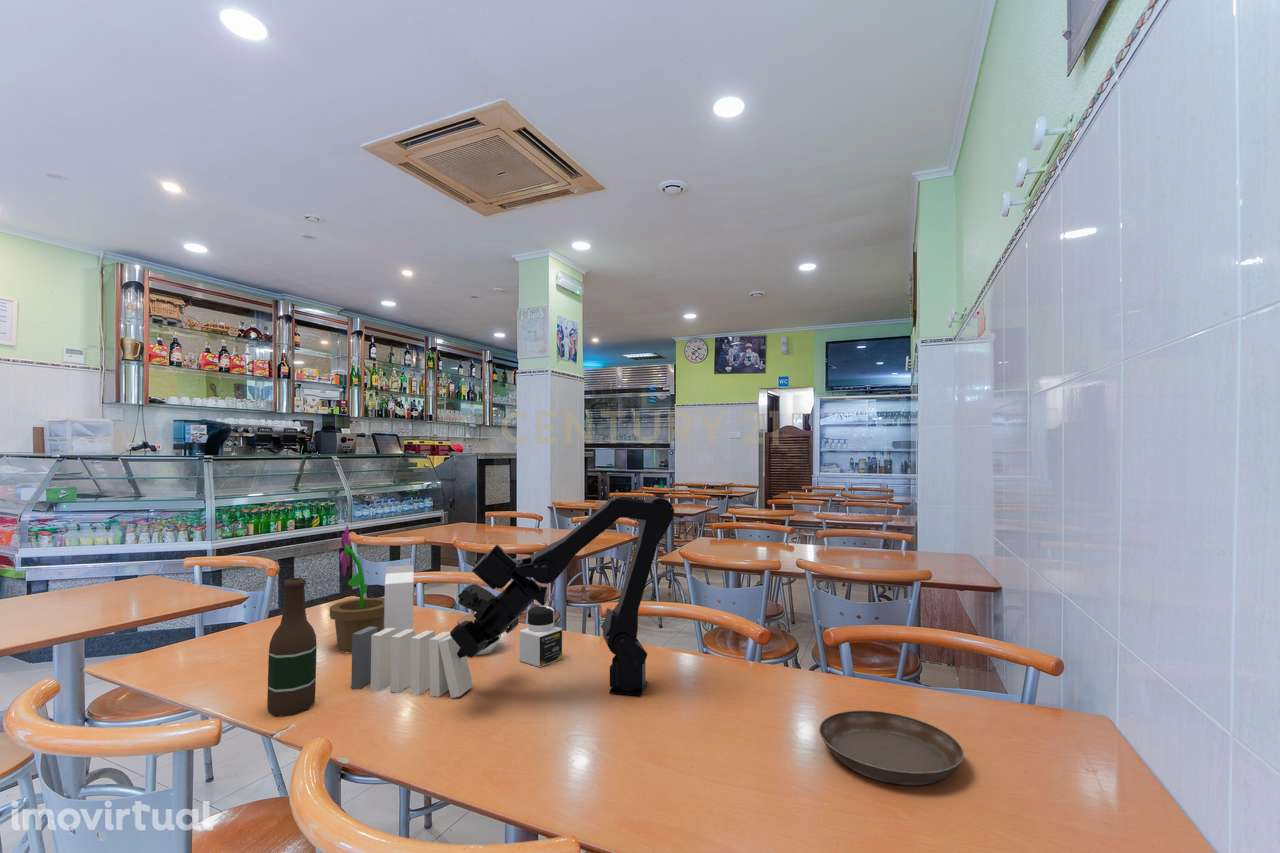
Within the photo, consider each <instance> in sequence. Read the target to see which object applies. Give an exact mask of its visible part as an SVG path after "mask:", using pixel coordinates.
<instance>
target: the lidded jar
mask: <svg viewBox="0 0 1280 853" xmlns="http://www.w3.org/2000/svg"><path fill="white" fill-rule="evenodd" d="M474 614H475V613H470V614H467V615H464V616H461V617H459V618H458V619H457V625H459V624H460V623H462V622H464V621H472V622H473V623H474V620H475V619H476V618H475V617H474V616H473V615H474ZM457 625H456V626H457ZM498 637H499V640H497V641H496V642H494V643H493V644H491V645H490V646H488V647H487V648H485V649H484V650H481V651H480V652H479V653H478V654H476V655H475V656H482V655H486V654H490V653H492V652H493V650H494V649H495V648H496V647H497V646H498V644H499V642H500V640H501V638H502V634H501V635H499V636H498Z"/></svg>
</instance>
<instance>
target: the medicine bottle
mask: <svg viewBox="0 0 1280 853" xmlns="http://www.w3.org/2000/svg"><path fill="white" fill-rule="evenodd" d="M518 643H519V645H518V647H519V648H518V650H519V652H518V653H519V654H518V656H519V658H518V660H519V662H521V663H525V664H528V665H530V666H533V667H537V668H543V667H545V666H547V665H550V664H552V663H555V662H557V661H558V662H559V661H561V660H562V659H563V628H562V627H559V626H558V627H557V626H555V609H554V608H553V607H551V606H548V605H536V606H533V607H530V608H529V609H528V611H527V627H526V628H522V629H520V630H519V642H518Z"/></svg>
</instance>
